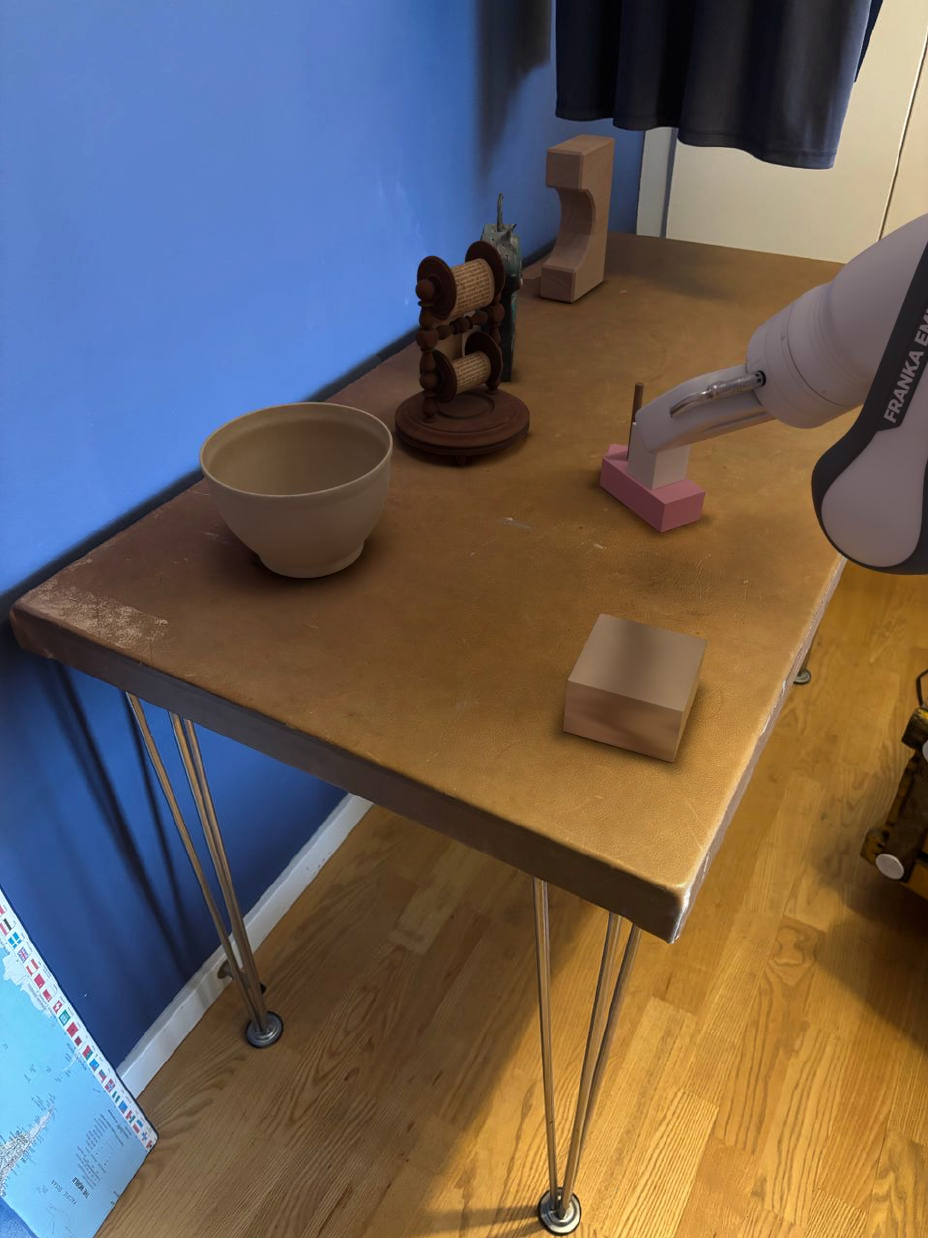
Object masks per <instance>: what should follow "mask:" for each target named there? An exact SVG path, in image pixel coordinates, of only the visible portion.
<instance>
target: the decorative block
mask: <svg viewBox="0 0 928 1238" xmlns="http://www.w3.org/2000/svg"><path fill="white" fill-rule="evenodd" d="M615 144H616V139H615V138H614V137H613V136H604V135H603V136H602V135H595V134H594V135H592V134H586V133H585V134H584V133H580V134H579V135H577V136H574V137H572V138H570V139H567V140H565V141H563V142H560V143H558V144H556V145H554V146H551V147H549V148H548V149H547V150H546V157H545V158H546V159H545V178H544V179H545V180H544V185H545V187H546V188H548V189H549V188H550V189H554V190H555V191H556V193H557V195H558V198H559V202H560V221H559V229H558V233H557V236H556V240H555V244H554V246H553V249H552V251H551V253H550V255H549V257H548V259H546V261H545V262H544V263H543V264H542V265H541V270H540V291H539V293H540V295H539V296H541V298H542V299H547V300H552V301H558V302H563V303H568V304H573V303H574V302H576V301H577V300H579V299H580V298H581V297H583V296H584V295H585V294H587V293H588V292H589V291H591V290H592V289H594V288H595V287H597V286H598V285H599V284H601V283H603V281H604V273H605V263H606V261H605V260H606V252H607V251H606V250H607V239H608V228H609V227H608V226H609V215H610V206H611V205H610V204H611V194H612V182H613V181H612V180H613V170H614V156H615V148H616V147H615V146H616V145H615Z"/></svg>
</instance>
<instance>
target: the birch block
mask: <svg viewBox="0 0 928 1238" xmlns="http://www.w3.org/2000/svg"><path fill="white" fill-rule="evenodd" d="M593 625H594V626H593V628H592V629H591V632H590V634H589V636H588V637H587V639H586V642H585V644H584V646H583V647H582V649H581V652H580V654H579V655H578V658H577V660H576V662H575V663H574V666H573V668H572V669H571V672H570V673H569V674H570V675H569V676H568V678H567V680H566V691H565V692H566V693H565V703H564V704H565V705H564V716H563V727H562V728H563V729H562V731H563V732H565V733H569V734H571V735H576V736H579V737H583V738H586V739H589V740H593V741H596V742H600V743H603V744H606V745H610V746H614V747H618V748H620V749H623V750H627V751H630V752H634V753H638V754H641V755H644V756H648V757H651V758H654V759H658V760H662V761H665V762H667V763H668V762H669V763H674V762H675V760H676V756H677V753H678V750H679V747H680V744H681V740H682V737H683V734H684V732H685V729H686V725H687V723H688V720H689V716H690V713H691V711H692V708H693V704H694V701H695V697H696V694H697V692H698V688H699V683H700V680H701V679H700V678H701V673H702V669H703V664H704V659H705V654H706V650H707V645H708V638H703V637H700V636H696V635H692V634H687V633H683V632H678V631H674V630H670V629H666V628H663V627H658V626H654V625H650V624H646V623H642V622H638V621H634V620H630V619H626V618H621V617H618V616H613V615H609V614H605V613H600V614H599V615H598V618H597V619H596V621H595V624H593Z"/></svg>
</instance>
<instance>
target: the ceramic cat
mask: <svg viewBox="0 0 928 1238" xmlns="http://www.w3.org/2000/svg"><path fill="white" fill-rule="evenodd" d="M504 196H505V194H504V192H502V193H501V192H500V193H498V199H497V203H496V204H497V205H496V213H497V216H496V223H489V222H487V223H485V224H484V226H483V228H482V231H481V235H480V237H479V240H478V241H480V240H482V241H487V242H489V243H490V244H492V245H493V246H494V247H495V248H496V249H497V251H498V252H499V254H500V256H501V258H502V260H503V263H504V267H505V283H504V287H503V289H502V291H501V299H500V301H499V302H498V303H500V304H501V305H502V306H503V308H504V312H505V313H504V317H503V319H502V321H501V322H500V323H501V324H500V326H498V331H499V334H500V342H499V344H498V347H499V348H500V349H501V351H502V361H503V368H502V373H501V376H500V380H501V382H511V381H512V379H513V367H514V356H515V342H516V341H515V340H516V322H517V304H518V291H520V290H521V289H523V287H524V282H523V276H524V274H523V273H524V272H523V263H522V261H523V260H522V249H521V248H522V247H521V237H520V236H519V235H518V234H517V233H513V232H514V229H516V228H517V224H518V222H515V223H513V224H511V225H510V224H509V223H504V222H503V221H504V219H503V210H502V205H503V204H502V202H503V199H504ZM474 242H475V241H473V242H472V244H473V243H474ZM483 309H484V307H481V308H479V309H476V310H473V311H474V313H476V312H478V311H483ZM486 323H487V322H486ZM486 323H485V324H484V325H481V326H477V328H478V330H477V331H481V332H484V333H487V334H488V330H489V326H487V324H486Z"/></svg>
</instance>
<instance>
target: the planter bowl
mask: <svg viewBox="0 0 928 1238" xmlns="http://www.w3.org/2000/svg"><path fill="white" fill-rule="evenodd" d="M393 448H394V447H393V436H392V433H391V431H390V429H389V428H388V427H387V425H386V424H385V423H384V422H383V421H381V420H380V418H378V417H376V416H375V415H373V414H371V413H369V412H367V411H365V410H362V409H359V408H356V407H352V406H348V405H343V404H339V403H333V402H332V403H331V402H318V401H302V402H289V403H284V404H276V405H271V406H265V407H262V408H257V409H256V410H252V411H249V412H246V413H243V414H241V415H238V416H236V417H234V418H233V419H230V420H229V421H227V422H226V423H224V424H222V425H221V426H218V428H216V429H215V430H213V431H212V432H211V433H210V434H209V435H208V436H207V438H205V440H204V442H203V443H202V445H201V447H200V450H199V452H198V453H199V454H198V461H199V466H200V470H201V472H202V474H203V476H204V478H205V480H206V482H207V485H208V489H209V492H210V495H211V497H212V500H213V502H214V505H215V506H216V509H217V511H218V513H219V514H220V517H222V519H223V521H224V522H225V524H226V525H227V526H228V528H229V529H230V531H232V532H233V534H234V535H235V536H236V537H237V538H238V539H239V540H240V541H241V542H242V543H243V544H244V545H245V546H246V547H248V549H250V550H251V551H252V552H254V553H255V554H257V555H258V557H259V559H260V561H261V563H262V564H263V565H264V566H265V567H266V568H267V569H269V570H270V571H272V572H273V573H275V574H278V575H281V576H285V577H289V578H295V579H314V578H320V577H326V576H328V575H329V576H330V575H332V574H335V573H338V572H340V571H342V570H344V569H346V568H347V567H349V566H350V565H352V564H353V563H355V561H356V560H357V559H358V558H359V556H361V554H362V551H363V549H364V545H365V541H366V540H367V538H368V537H369V536H370V534H371V533H372V531H373V530H374V528H375V526H376V525H377V524H378V521H379V519H380V517H381V514H382V512H383V509H384V507H385V504H386V501H387V497H388V493H389V487H390V482H391V469H392V468H391V467H392V466H391V465H392V464H391V463H392V462H391V460H392V456H393V450H394V449H393Z"/></svg>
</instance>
